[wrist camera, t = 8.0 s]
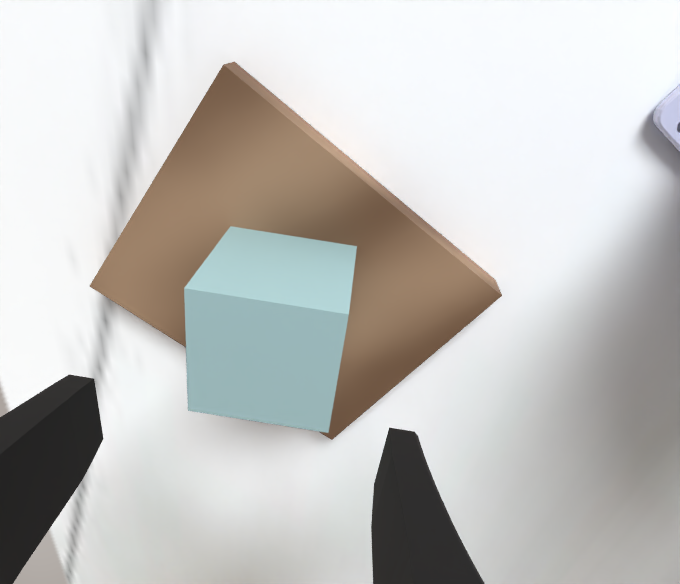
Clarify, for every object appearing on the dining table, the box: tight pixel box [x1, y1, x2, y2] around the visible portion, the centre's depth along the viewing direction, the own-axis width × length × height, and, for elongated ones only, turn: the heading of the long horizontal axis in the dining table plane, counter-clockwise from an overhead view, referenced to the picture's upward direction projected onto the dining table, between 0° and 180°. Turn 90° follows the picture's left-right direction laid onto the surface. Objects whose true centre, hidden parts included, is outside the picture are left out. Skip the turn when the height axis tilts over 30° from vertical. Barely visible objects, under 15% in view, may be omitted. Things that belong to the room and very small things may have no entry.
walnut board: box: [90, 62, 502, 440], centre depth 18 cm, size 12×10×1 cm
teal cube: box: [184, 226, 357, 433], centre depth 16 cm, size 4×4×4 cm
